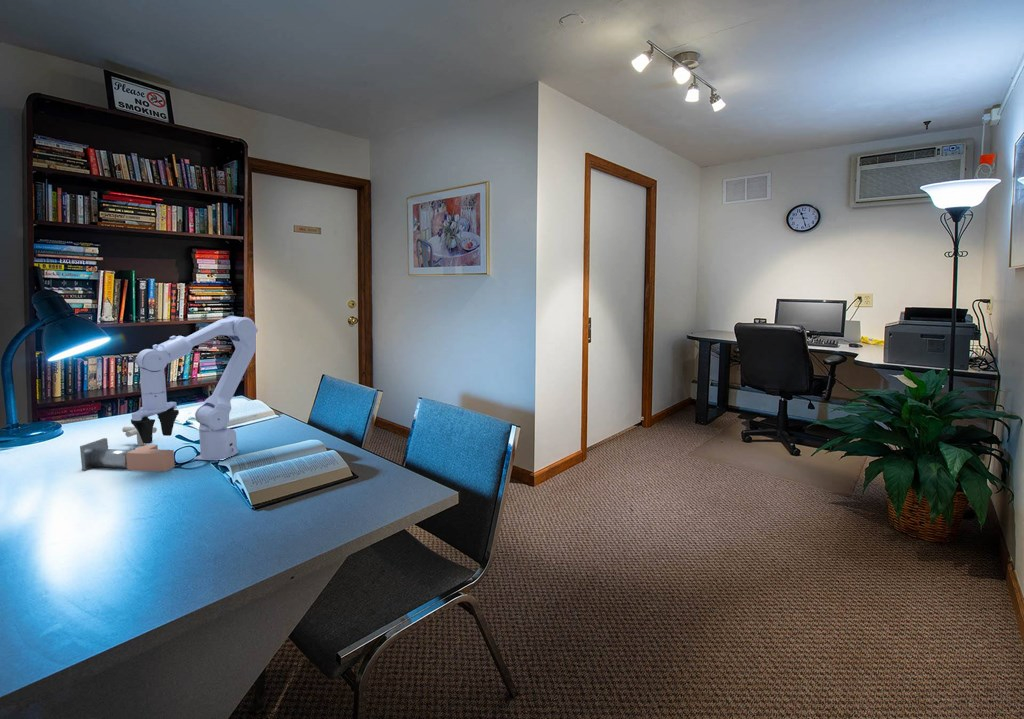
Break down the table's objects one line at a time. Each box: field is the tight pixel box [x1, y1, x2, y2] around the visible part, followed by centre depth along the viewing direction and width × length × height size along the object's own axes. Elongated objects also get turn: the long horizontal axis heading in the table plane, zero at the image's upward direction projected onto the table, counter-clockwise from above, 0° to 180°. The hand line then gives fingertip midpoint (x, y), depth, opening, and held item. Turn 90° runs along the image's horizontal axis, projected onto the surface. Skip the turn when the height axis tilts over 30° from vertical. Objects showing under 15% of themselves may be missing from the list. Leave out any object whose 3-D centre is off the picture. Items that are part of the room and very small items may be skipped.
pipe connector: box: [121, 426, 158, 447], centre depth 169 cm, size 10×10×10 cm
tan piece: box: [126, 444, 176, 472], centre depth 150 cm, size 11×8×5 cm
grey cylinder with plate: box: [79, 437, 133, 472], centre depth 149 cm, size 11×8×7 cm
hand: (157, 439), depth 148 cm, fingers open, 7 cm apart
